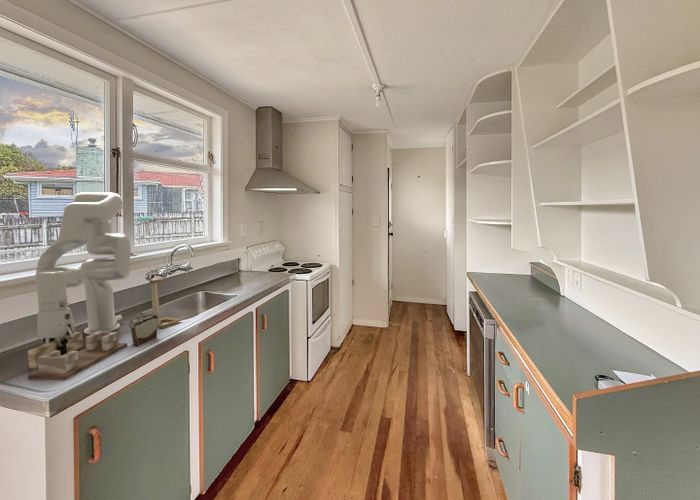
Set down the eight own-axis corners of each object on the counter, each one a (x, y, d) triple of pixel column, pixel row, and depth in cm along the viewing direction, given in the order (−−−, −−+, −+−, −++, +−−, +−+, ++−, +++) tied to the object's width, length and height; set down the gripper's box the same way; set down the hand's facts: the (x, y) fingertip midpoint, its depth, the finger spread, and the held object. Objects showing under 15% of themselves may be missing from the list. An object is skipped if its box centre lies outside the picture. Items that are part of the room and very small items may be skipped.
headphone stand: (182, 321, 155) (179, 276, 153) (164, 329, 144) (161, 280, 142) (163, 320, 157) (161, 275, 155) (144, 327, 147) (141, 279, 144)
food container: (147, 335, 137) (145, 312, 136) (159, 336, 136) (158, 313, 135) (121, 347, 125) (119, 321, 124) (134, 348, 124) (133, 322, 123)
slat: (77, 346, 126) (75, 331, 125) (83, 346, 126) (81, 331, 125) (29, 368, 108) (27, 350, 107) (36, 368, 108) (34, 351, 107)
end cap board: (97, 345, 126) (95, 330, 126) (127, 346, 126) (125, 330, 125) (28, 378, 101) (26, 359, 100) (65, 379, 100) (63, 360, 99)
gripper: (84, 303, 118) (88, 351, 120) (42, 302, 119) (46, 351, 121) (65, 309, 111) (70, 360, 113) (20, 308, 111) (25, 359, 113)
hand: (58, 355), depth 117 cm, fingers closed on slat, 2 cm apart
